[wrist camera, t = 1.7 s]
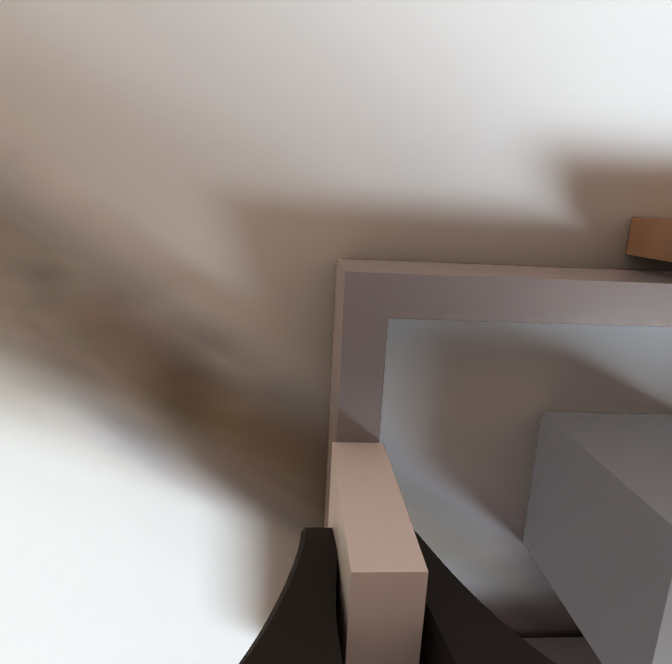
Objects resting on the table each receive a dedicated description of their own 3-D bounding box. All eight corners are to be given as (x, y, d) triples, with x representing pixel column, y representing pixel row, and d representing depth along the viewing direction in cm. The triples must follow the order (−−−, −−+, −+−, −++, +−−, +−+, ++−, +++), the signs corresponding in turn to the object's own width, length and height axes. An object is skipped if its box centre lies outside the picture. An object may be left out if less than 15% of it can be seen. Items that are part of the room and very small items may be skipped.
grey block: (681, 413, 16) (895, 533, 11) (654, 541, 17) (834, 714, 12) (541, 411, 16) (681, 534, 10) (521, 541, 17) (639, 720, 11)
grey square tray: (796, 276, 15) (1203, 342, 8) (699, 659, 18) (937, 933, 11) (332, 258, 14) (367, 316, 7) (314, 668, 17) (326, 975, 10)
